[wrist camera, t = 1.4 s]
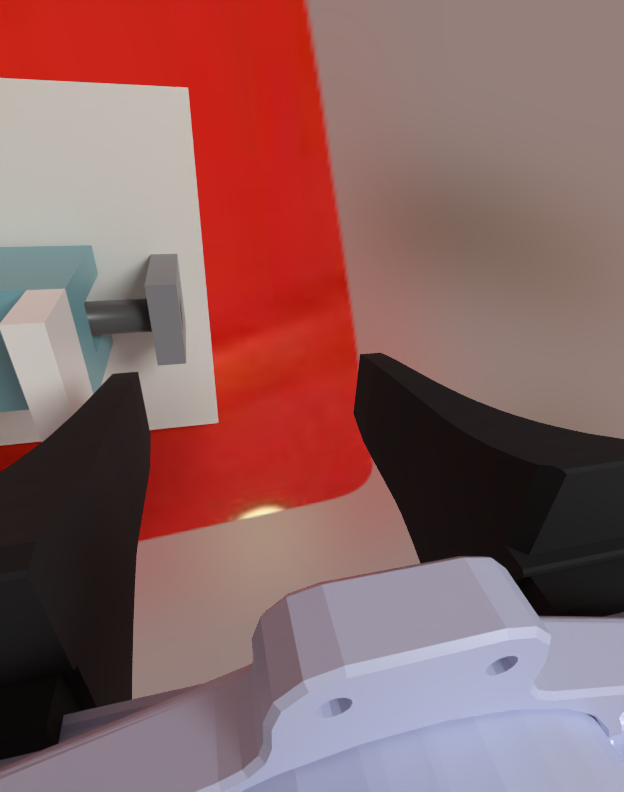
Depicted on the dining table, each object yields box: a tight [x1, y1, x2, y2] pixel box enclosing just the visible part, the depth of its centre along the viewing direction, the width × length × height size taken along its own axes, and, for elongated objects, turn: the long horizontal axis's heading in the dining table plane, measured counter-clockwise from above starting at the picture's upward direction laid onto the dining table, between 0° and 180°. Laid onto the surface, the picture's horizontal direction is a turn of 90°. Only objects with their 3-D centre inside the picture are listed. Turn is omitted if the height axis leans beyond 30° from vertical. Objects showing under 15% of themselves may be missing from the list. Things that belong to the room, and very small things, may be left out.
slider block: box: [0, 245, 113, 442], centre depth 15 cm, size 4×4×7 cm
